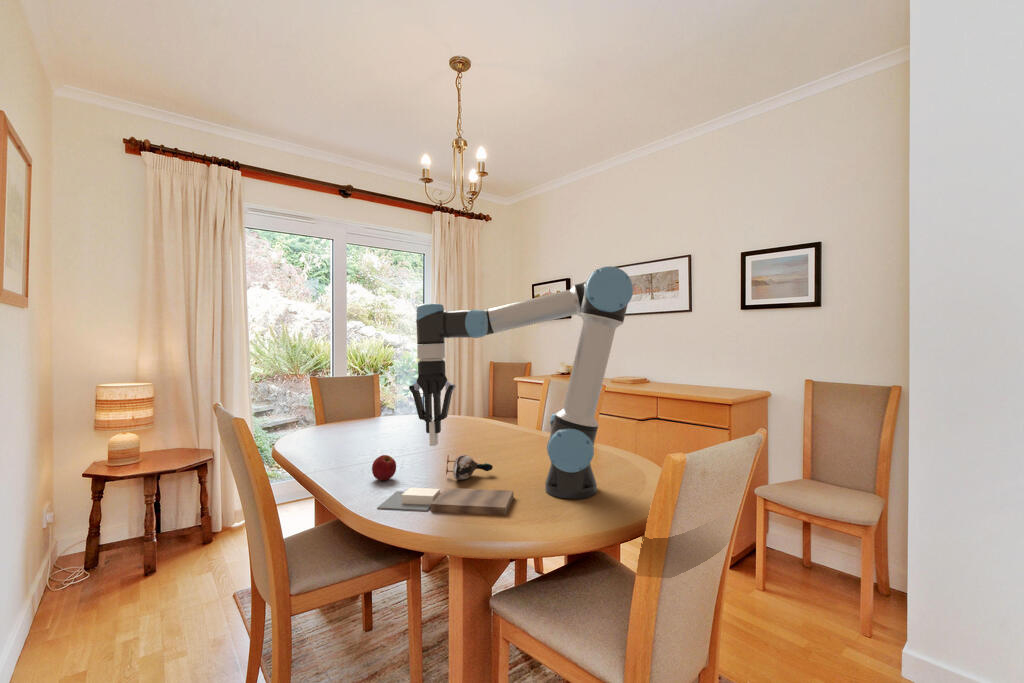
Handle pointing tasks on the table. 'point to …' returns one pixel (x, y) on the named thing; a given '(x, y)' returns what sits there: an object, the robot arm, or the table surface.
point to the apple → (384, 467)
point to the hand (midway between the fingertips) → (433, 444)
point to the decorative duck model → (466, 467)
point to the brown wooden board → (473, 501)
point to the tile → (420, 496)
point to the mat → (396, 504)
